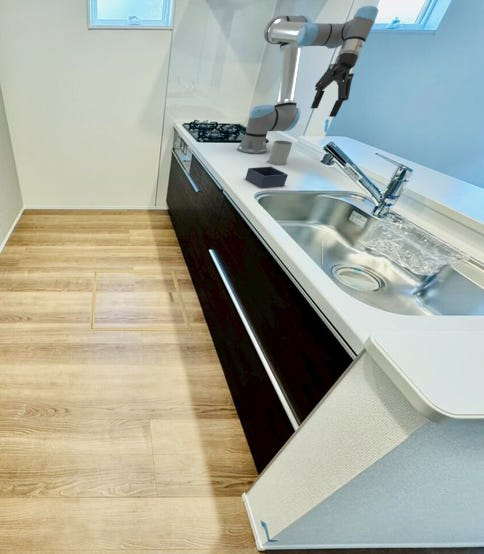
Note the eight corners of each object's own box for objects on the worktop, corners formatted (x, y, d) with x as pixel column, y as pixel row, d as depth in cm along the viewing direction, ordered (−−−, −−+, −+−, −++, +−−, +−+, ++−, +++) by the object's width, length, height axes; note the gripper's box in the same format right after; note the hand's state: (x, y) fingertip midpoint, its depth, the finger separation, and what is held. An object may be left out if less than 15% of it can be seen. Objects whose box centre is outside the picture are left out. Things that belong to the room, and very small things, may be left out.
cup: (287, 165, 154) (294, 144, 148) (270, 164, 156) (276, 144, 150) (283, 160, 161) (289, 140, 155) (267, 159, 162) (272, 140, 156)
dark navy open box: (245, 179, 137) (248, 168, 134) (267, 177, 139) (271, 166, 136) (260, 188, 128) (263, 176, 125) (284, 185, 130) (288, 174, 127)
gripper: (340, 42, 114) (313, 104, 122) (374, 64, 124) (347, 119, 133) (321, 46, 120) (297, 104, 128) (355, 66, 131) (331, 119, 139)
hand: (323, 112), depth 130 cm, fingers open, 13 cm apart
